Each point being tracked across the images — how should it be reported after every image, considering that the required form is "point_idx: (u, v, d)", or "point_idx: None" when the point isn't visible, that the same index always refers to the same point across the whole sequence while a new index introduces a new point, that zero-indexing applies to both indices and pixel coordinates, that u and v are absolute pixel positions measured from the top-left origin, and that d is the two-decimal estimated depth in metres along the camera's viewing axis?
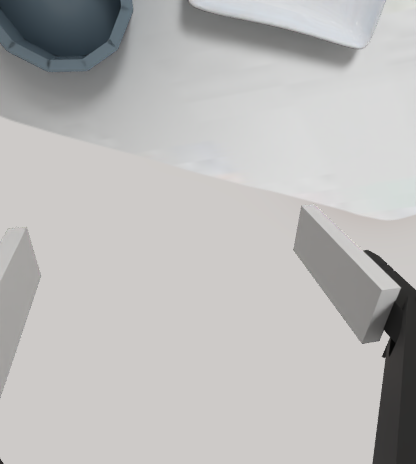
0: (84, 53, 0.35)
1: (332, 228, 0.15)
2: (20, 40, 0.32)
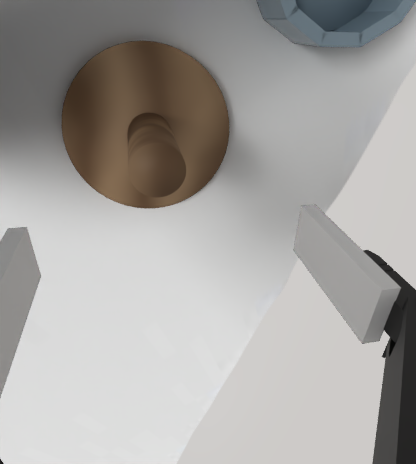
0: None
1: (332, 228, 0.15)
2: (376, 11, 0.28)
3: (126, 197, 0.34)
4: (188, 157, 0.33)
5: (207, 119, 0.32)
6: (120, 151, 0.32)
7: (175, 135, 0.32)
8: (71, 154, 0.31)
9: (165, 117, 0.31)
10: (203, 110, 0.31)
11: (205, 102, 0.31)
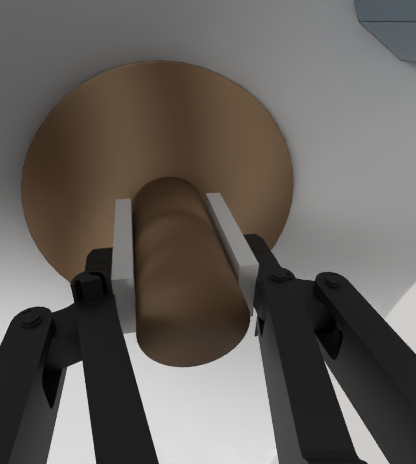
0: None
1: (224, 213, 0.16)
2: None
3: None
4: None
5: (260, 184, 0.20)
6: None
7: None
8: (40, 242, 0.19)
9: (194, 183, 0.19)
10: (255, 171, 0.19)
11: (259, 158, 0.19)
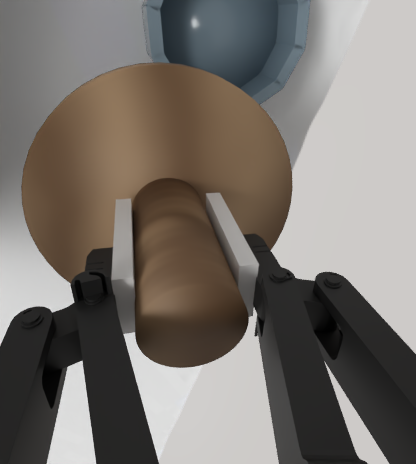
0: (276, 7, 0.31)
1: (224, 213, 0.16)
2: (266, 76, 0.32)
3: None
4: None
5: (259, 185, 0.20)
6: None
7: None
8: (40, 243, 0.19)
9: (193, 184, 0.19)
10: (255, 172, 0.19)
11: (258, 160, 0.19)
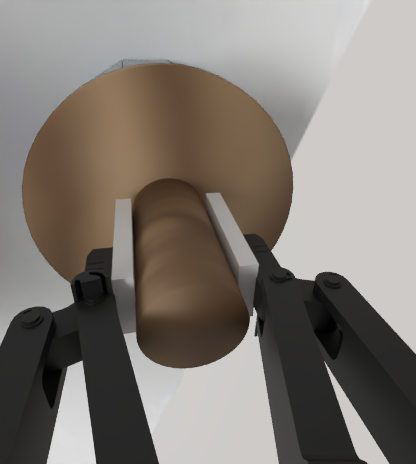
0: None
1: (224, 213, 0.16)
2: None
3: None
4: None
5: (260, 185, 0.20)
6: None
7: None
8: (40, 243, 0.19)
9: (194, 184, 0.19)
10: (255, 172, 0.19)
11: (258, 160, 0.19)
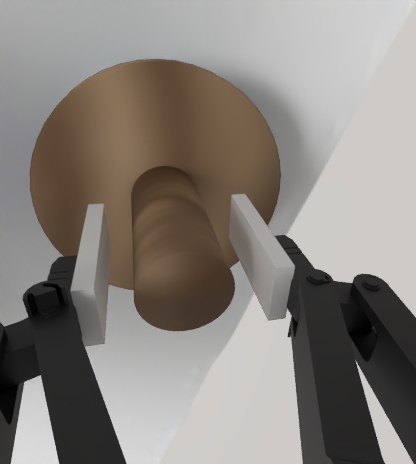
0: None
1: (252, 214, 0.16)
2: None
3: (128, 279, 0.24)
4: (219, 224, 0.23)
5: (249, 173, 0.21)
6: (120, 220, 0.21)
7: (202, 196, 0.22)
8: (46, 226, 0.20)
9: (188, 172, 0.21)
10: (245, 161, 0.21)
11: (248, 149, 0.21)
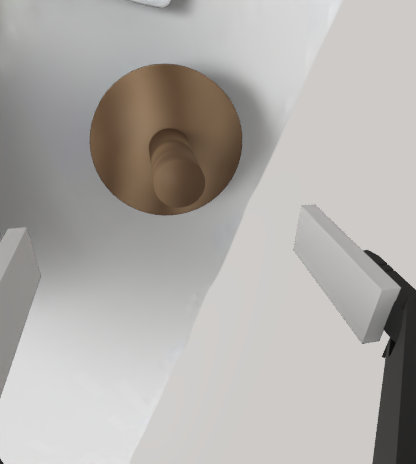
0: None
1: (332, 228, 0.15)
2: None
3: (146, 205, 0.37)
4: (204, 168, 0.36)
5: (222, 133, 0.34)
6: (141, 163, 0.34)
7: (192, 148, 0.35)
8: (97, 166, 0.34)
9: (183, 132, 0.34)
10: (218, 125, 0.34)
11: (220, 118, 0.33)
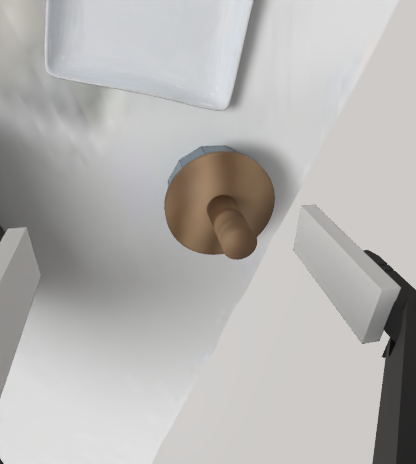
0: None
1: (332, 228, 0.15)
2: None
3: (200, 247, 0.49)
4: (245, 221, 0.48)
5: (260, 197, 0.46)
6: (200, 219, 0.46)
7: (238, 208, 0.47)
8: (168, 221, 0.45)
9: (232, 197, 0.46)
10: (258, 192, 0.46)
11: (259, 187, 0.46)
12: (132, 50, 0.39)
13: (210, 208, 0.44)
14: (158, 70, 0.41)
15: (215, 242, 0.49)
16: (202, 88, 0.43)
